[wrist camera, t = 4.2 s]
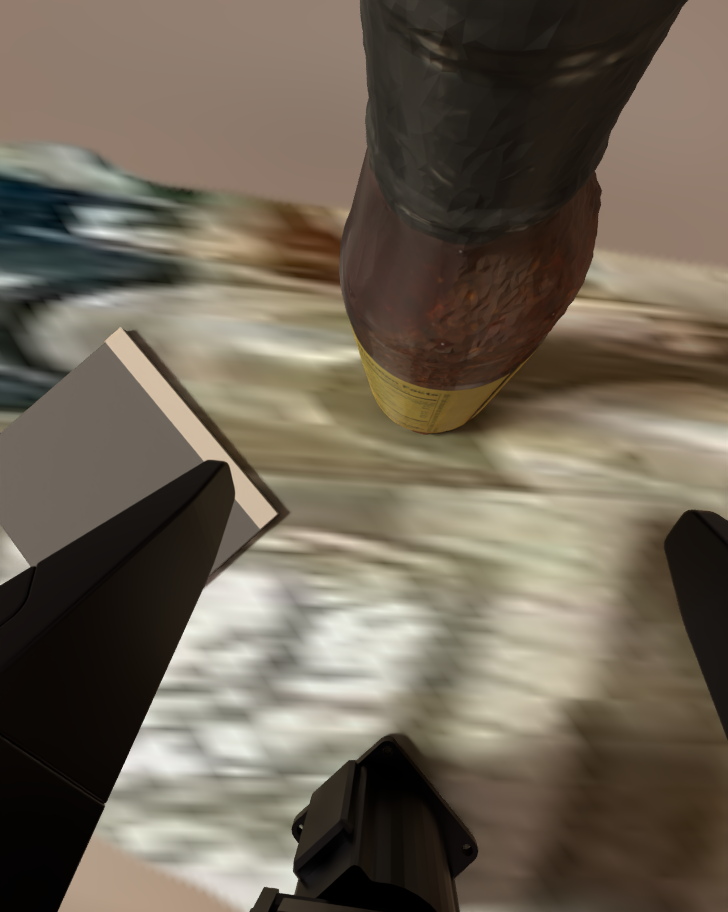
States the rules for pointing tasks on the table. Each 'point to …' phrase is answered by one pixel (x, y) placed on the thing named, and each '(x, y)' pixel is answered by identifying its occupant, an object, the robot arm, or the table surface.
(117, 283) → the table surface
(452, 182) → the sauce bottle
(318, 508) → the table surface
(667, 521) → the table surface
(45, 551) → the mat
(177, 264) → the table surface
